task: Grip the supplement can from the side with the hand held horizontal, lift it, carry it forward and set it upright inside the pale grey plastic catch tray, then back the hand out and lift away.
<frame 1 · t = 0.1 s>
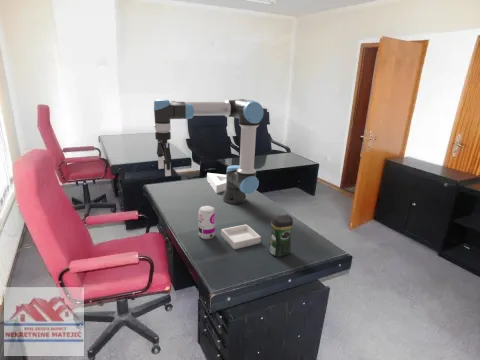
hand: (164, 172, 161), 28 cm above the table, tool pointing down, fingers open, 13 cm apart
supplement can: (206, 236, 156), on the table
catch tray: (240, 239, 154), on the table
coffee jar: (279, 252, 144), on the table
triangle block: (221, 188, 226), on the table
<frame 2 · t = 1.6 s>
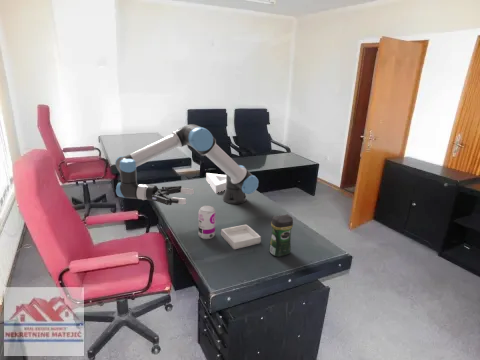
hand: (189, 196, 151), 20 cm above the table, tool horizontal, fingers open, 13 cm apart
nothing on the table moved.
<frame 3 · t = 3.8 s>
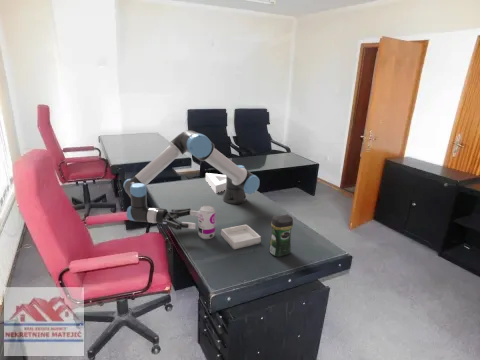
hand: (199, 219, 154), 8 cm above the table, tool horizontal, fingers open, 13 cm apart
nothing on the table moved.
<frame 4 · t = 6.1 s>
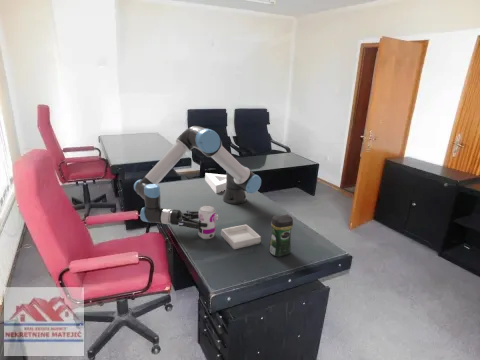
hand: (216, 221, 153), 9 cm above the table, tool horizontal, fingers closed on supplement can, 8 cm apart
supplement can: (206, 235, 156), on the table, touching gripper
everything else where it was.
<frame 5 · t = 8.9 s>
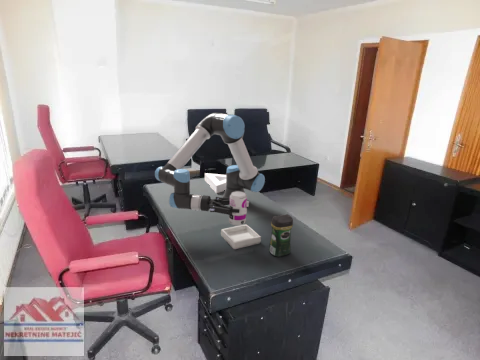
hand: (247, 207, 148), 18 cm above the table, tool horizontal, fingers closed on supplement can, 8 cm apart
supplement can: (237, 222, 151), point 9 cm above the table, touching gripper
everything else where it was.
when the fingers open (11 cm above the table, at t = 11.7 s): supplement can drops 1 cm, resting on catch tray.
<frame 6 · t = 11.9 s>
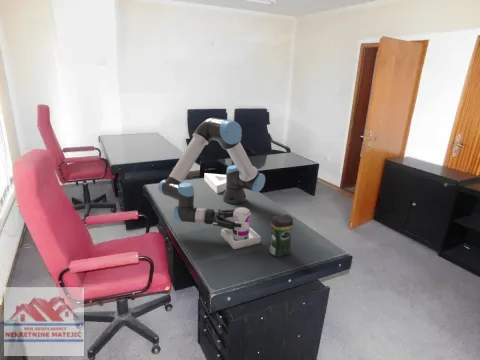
hand: (249, 220, 150), 11 cm above the table, tool horizontal, fingers open, 10 cm apart
supplement can: (240, 238, 154), point 1 cm above the table, touching catch tray
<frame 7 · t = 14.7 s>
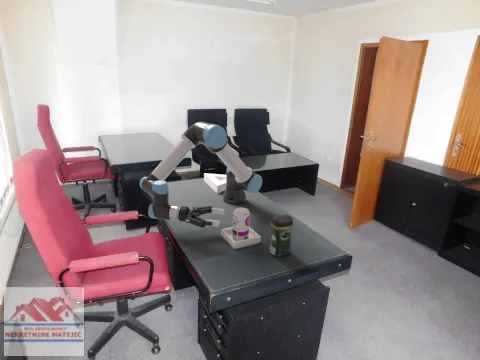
hand: (222, 217, 152), 11 cm above the table, tool horizontal, fingers open, 13 cm apart
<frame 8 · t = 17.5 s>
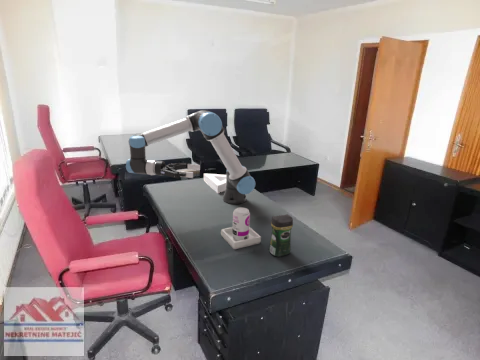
hand: (196, 171, 158), 30 cm above the table, tool horizontal, fingers open, 13 cm apart
at the end: supplement can inside the target area on the catch tray (0.1 cm from its centre), point 0.6 cm above the catch tray's base; supplement can tilted 0°; the gripper is holding nothing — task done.
